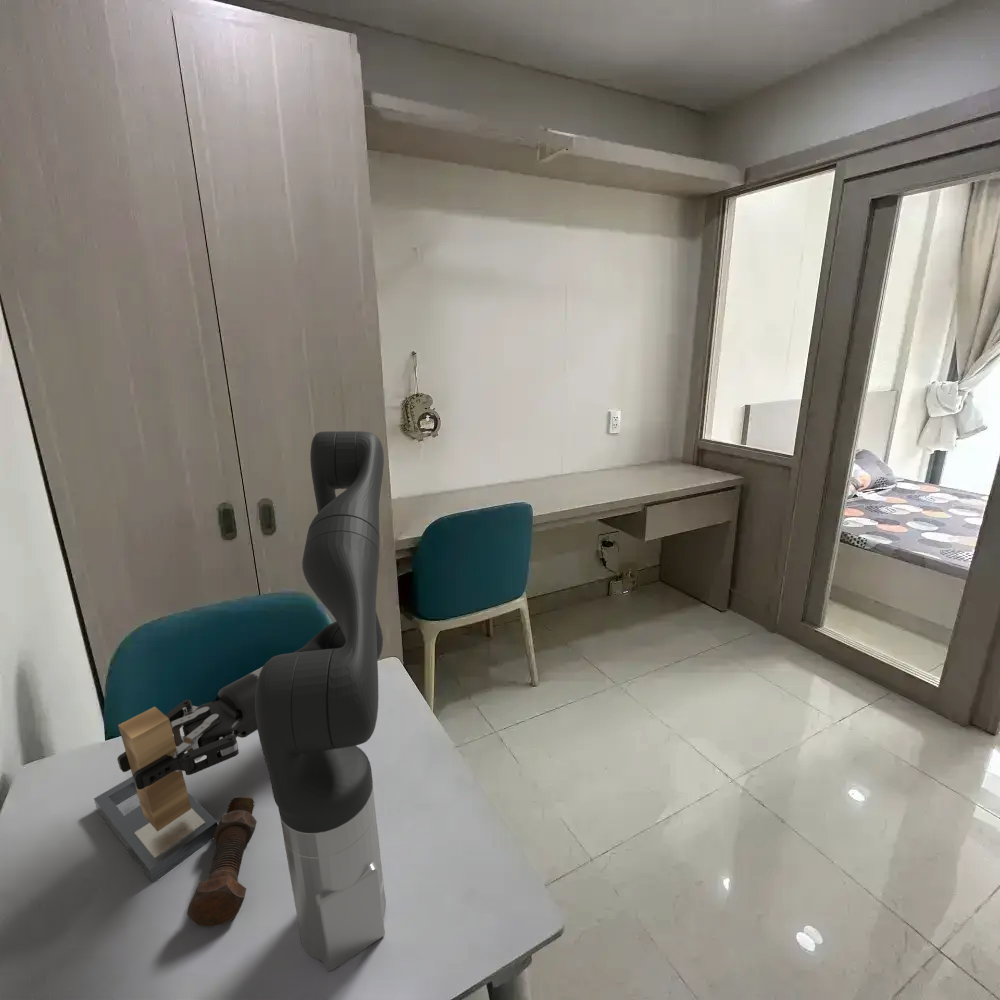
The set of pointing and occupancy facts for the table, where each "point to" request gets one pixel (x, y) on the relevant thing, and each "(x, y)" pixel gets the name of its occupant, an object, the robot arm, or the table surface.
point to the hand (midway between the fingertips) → (128, 773)
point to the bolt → (225, 867)
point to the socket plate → (155, 831)
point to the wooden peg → (144, 745)
